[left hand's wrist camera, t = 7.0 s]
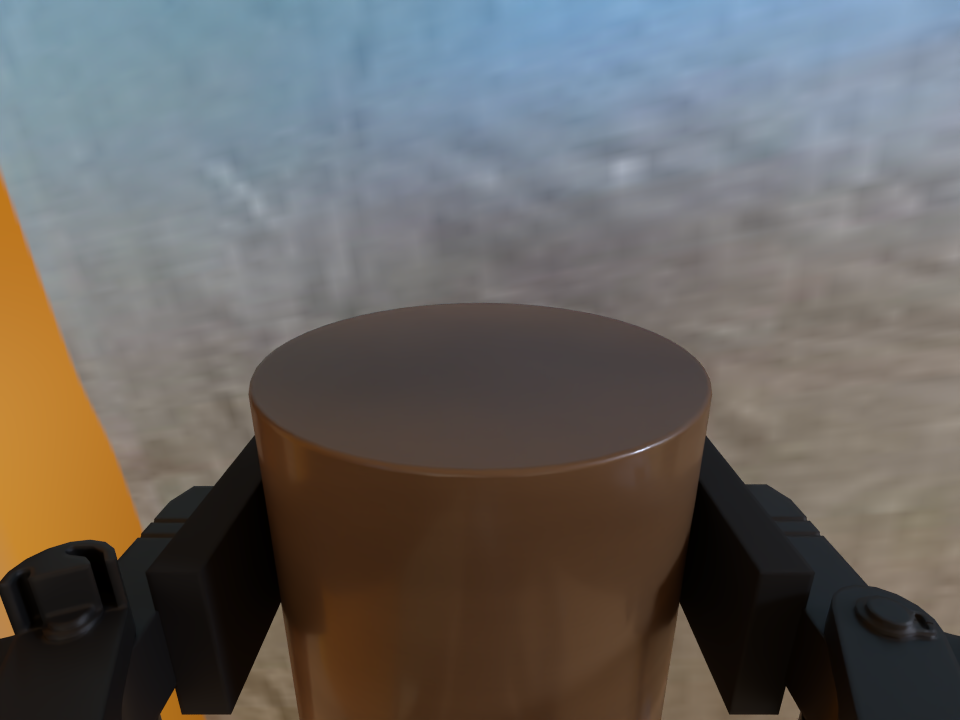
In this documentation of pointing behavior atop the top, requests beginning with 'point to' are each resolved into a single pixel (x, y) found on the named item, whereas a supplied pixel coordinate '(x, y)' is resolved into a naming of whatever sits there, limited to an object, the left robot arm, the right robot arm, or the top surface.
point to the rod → (480, 511)
